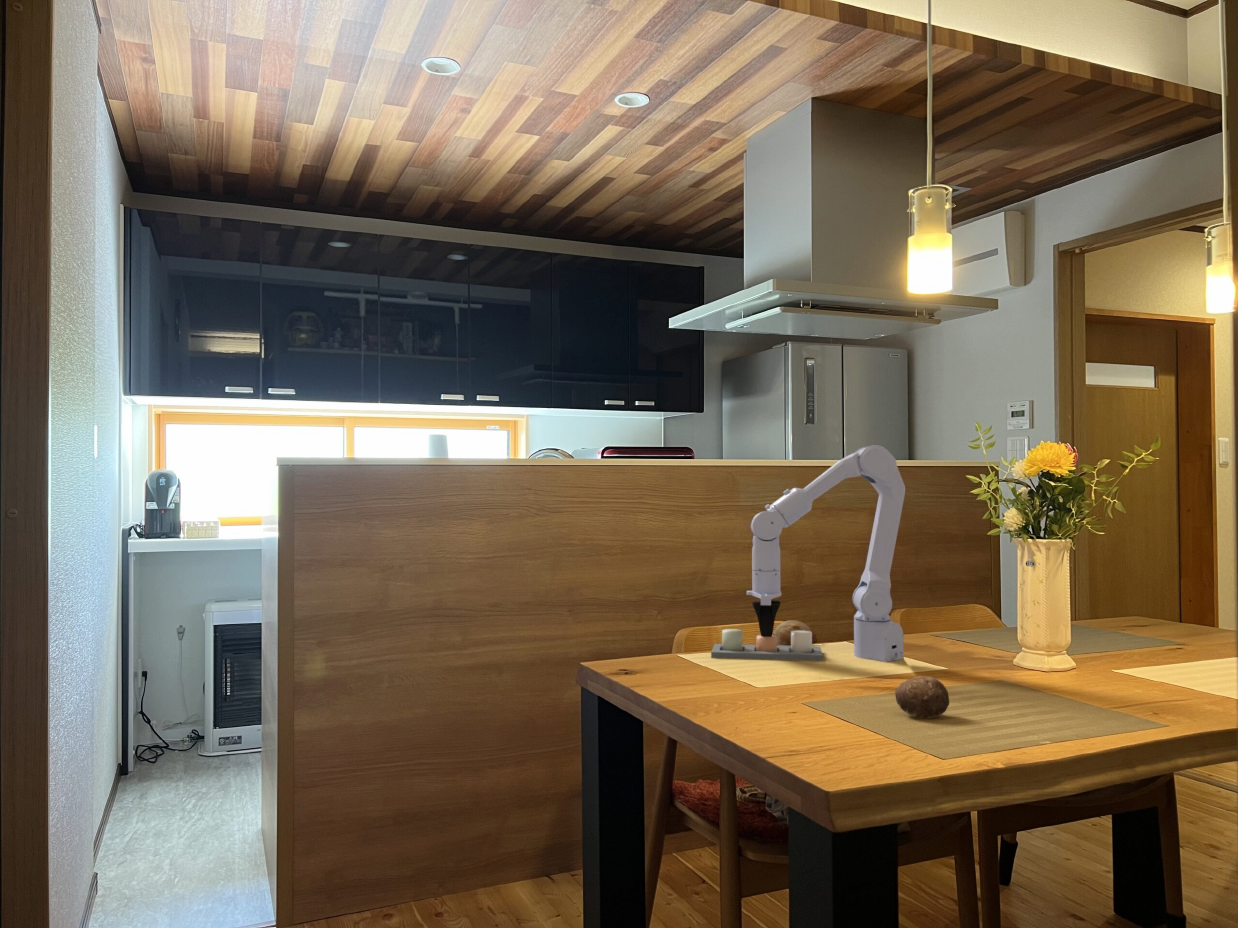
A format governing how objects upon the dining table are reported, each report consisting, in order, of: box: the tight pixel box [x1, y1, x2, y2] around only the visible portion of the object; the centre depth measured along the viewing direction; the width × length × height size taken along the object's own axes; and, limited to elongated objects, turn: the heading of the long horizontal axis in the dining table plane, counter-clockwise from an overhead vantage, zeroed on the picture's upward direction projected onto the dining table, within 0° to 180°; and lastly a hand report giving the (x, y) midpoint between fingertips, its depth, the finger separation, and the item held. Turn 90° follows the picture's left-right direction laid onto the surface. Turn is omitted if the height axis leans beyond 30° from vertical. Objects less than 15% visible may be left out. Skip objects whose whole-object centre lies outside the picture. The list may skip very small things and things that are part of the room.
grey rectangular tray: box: [710, 643, 824, 662], centre depth 192 cm, size 22×10×2 cm, turn 80°
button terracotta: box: [755, 634, 778, 652], centre depth 192 cm, size 4×4×5 cm
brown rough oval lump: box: [894, 675, 950, 719], centre depth 148 cm, size 8×8×6 cm
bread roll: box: [772, 619, 818, 646], centre depth 209 cm, size 10×10×8 cm
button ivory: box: [790, 631, 813, 653], centre depth 191 cm, size 4×4×5 cm
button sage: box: [721, 628, 744, 651], centre depth 194 cm, size 4×4×5 cm
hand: (766, 636), depth 193 cm, fingers closed, pressing on button terracotta
